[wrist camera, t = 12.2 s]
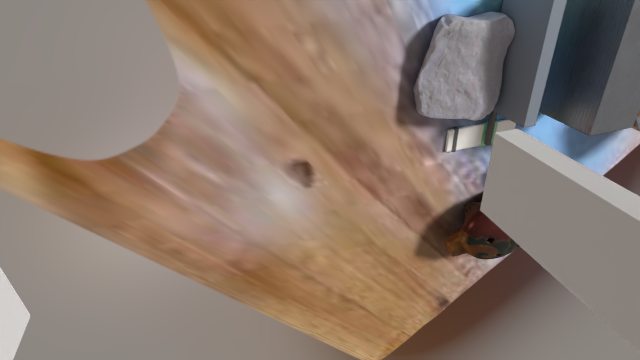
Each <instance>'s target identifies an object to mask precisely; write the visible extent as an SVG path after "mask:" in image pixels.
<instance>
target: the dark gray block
mask: <svg viewBox="0 0 640 360" xmlns="http://www.w3.org/2000/svg"><path fill="white" fill-rule="evenodd" d="M639 109H640V0H567V1H566V5H565V9H564V13H563V17H562V21H561V25H560V29H559V33H558V37H557V41H556V45H555V49H554V53H553V57H552V61H551V65H550V69H549V73H548V77H547V81H546V85H545V89H544V93H543V96H542V100H541V104H540V108H539V112H541V113H543V114H545V115H547V116H549V117H551V118H553V119H555V120H557V121H559V122H562V123H564V124H566V125H568V126H570V127H572V128H574V129H576V130H578V131H580V132H582V133H585V134H587V135H589V136H592V135H597V134H602V133H607V132H611V131H616V130H621V129H626V128H631V127H633V125H634V122H635V120H636V117H637V114H638V112H639Z"/></svg>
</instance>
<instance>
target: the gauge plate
mask: <svg viewBox="0 0 640 360" xmlns="http://www.w3.org/2000/svg"><path fill="white" fill-rule="evenodd" d="M566 1H567V0H503V4H502V10H501V13H504V14H506V15H507V16H508V17H509V18H510V19H511V20H512V21H513V24H514V28H515V34H514V38H513V40H512V41H511V43H510V44H509V46H508V48H507V53H506V56H505V58H504V62H503V69H502V82H501V88H500V93H499V97H498V101H497V103H496V104H495V107H494V109H493V111H492V112H491V113H490V114H489V119H488V124H487V130H486V135H485V141H484V144H485V145H491V141H492V136H493V131H494V126H495V121H496V116H497V113H498V114H500V115H501V116H503V117H505V118H507V119H509V120H511V121H512V122H514V123H516V124H518V125H520V126H522V127H523V128H525V127H530V126H535V124H536V120H537V116H538V112H539V108H540V104H541V100H542V96H543V93H544V89H545V85H546V81H547V77H548V73H549V69H550V65H551V61H552V57H553V53H554V49H555V45H556V41H557V37H558V33H559V29H560V25H561V21H562V17H563V13H564V9H565V5H566Z"/></svg>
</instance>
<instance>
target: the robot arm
mask: <svg viewBox="0 0 640 360" xmlns="http://www.w3.org/2000/svg"><path fill="white" fill-rule="evenodd" d="M480 211H481V212H483V213H484V214H485V215H486V216H487V217H488V218H489V219H490V220H491V221H493V222H494V223H495V224H496V225H497V226H498V227H499V228H500V229H501V230H503V231H504V232H505V233H506V234H507V235H508V236H509V237H510V238H511V239H513V240H514V241H515V242H516V243H517V244H518V245H519V246H520V247H521V248H523V249H524V250H525V251H526V252H527V253H528V254H529V255H530V256H531V257H533V258H534V259H535V260H536V261H537V262H538V263H539V264H540V265H542V266H543V267H544V268H545V269H546V270H547V271H548V272H549V273H551V275H553V276H554V277H555V278H556V279H557V280H558V281H559V282H561V283H562V284H563V285H564V286H565V287H566V288H567V289H568V290H569V291H570V292H572V293H573V294H574V295H575V296H576V297H577V298H578V299H579V300H580V301H582V302H583V303H584V304H585V305H586V306H587V307H588V308H589V309H590V310H591V311H593V312H594V313H595V314H596V315H597V316H598V317H599V318H600V319H601V320H603V321H604V322H605V323H606V324H607V325H608V326H609V327H610V328H611V329H613V330H614V331H615V332H616V333H617V334H618V335H619V336H620V337H621V338H623V339H624V340H625V341H626V342H627V343H628V344H629V345H630V346H631V347H633V348H634V349H635V350H636V351H637V352H638V353H639V354H640V197H639V196H638V195H636V194H634V193H632V192H630V191H628V190H627V189H625V188H623V187H621V186H619V185H618V184H616V183H614V182H612V181H610V180H609V179H607V178H605V177H603V176H602V175H600V174H598V173H596V172H595V171H593V170H591V169H589V168H587V167H586V166H584V165H582V164H580V163H578V162H577V161H575V160H573V159H571V158H569V157H568V156H566V155H564V154H562V153H560V152H559V151H557V150H555V149H553V148H551V147H550V146H548V145H546V144H544V143H543V142H541V141H539V140H537V139H535V138H534V137H532V136H530V135H528V134H526V133H525V132H523V131H521V130H519V129H513V130H508V131H502V132H497V133H495V136H494V141H493V146H492V151H491V157H490V162H489V167H488V172H487V177H486V182H485V187H484V192H483V197H482V202H481V207H480ZM29 318H30V314H29V312H28V311H27V309H26V308H25V306H24V304H23V303H22V301H21V300H20V298H19V296H18V295H17V293H16V292H15V290H14V289H13V287H12V285H11V284H10V282H9V281H8V279H7V277H6V276H5V274H4V273H3V271H2V269H1V268H0V360H13V358H14V355H15V353H16V351H17V348H18V346H19V343H20V341H21V338H22V336H23V333H24V331H25V328H26V326H27V323H28V321H29Z"/></svg>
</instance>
